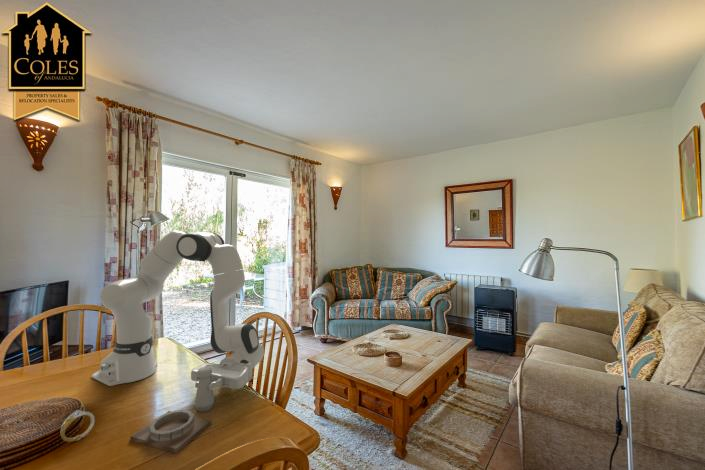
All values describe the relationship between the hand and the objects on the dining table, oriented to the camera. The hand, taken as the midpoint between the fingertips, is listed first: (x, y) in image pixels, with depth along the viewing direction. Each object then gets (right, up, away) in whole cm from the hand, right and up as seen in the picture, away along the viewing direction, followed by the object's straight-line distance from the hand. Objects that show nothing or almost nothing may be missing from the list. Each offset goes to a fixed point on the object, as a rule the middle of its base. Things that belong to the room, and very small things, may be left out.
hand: (202, 386), depth 95 cm
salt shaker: (0, -8, +1) cm, 8 cm away
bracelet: (-27, -8, -14) cm, 31 cm away
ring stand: (-3, -8, -11) cm, 13 cm away
